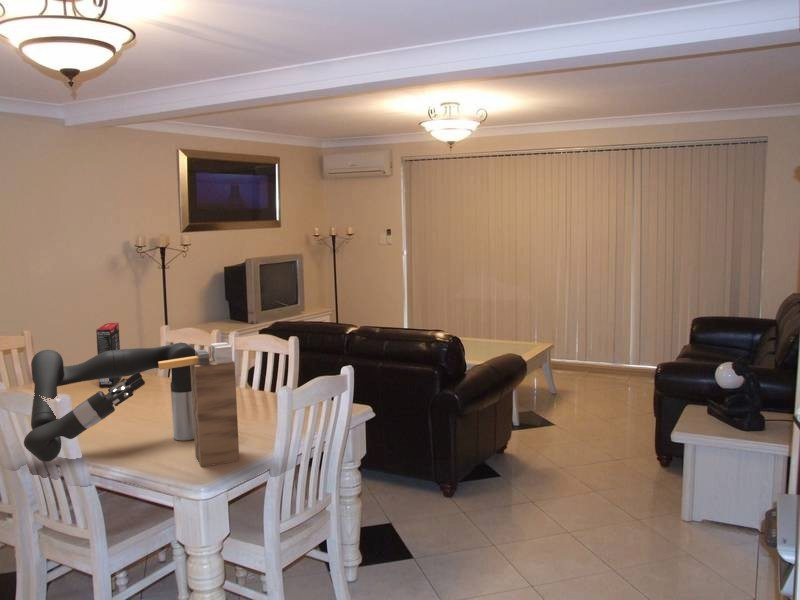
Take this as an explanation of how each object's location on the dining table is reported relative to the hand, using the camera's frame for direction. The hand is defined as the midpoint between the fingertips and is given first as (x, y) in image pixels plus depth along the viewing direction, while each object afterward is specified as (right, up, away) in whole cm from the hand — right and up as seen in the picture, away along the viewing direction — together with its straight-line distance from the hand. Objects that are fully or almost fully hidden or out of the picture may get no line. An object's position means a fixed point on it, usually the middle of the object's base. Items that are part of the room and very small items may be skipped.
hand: (142, 377), depth 212 cm
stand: (+19, -28, +14) cm, 36 cm away
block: (+11, +3, +5) cm, 12 cm away
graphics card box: (-56, -15, +112) cm, 126 cm away
